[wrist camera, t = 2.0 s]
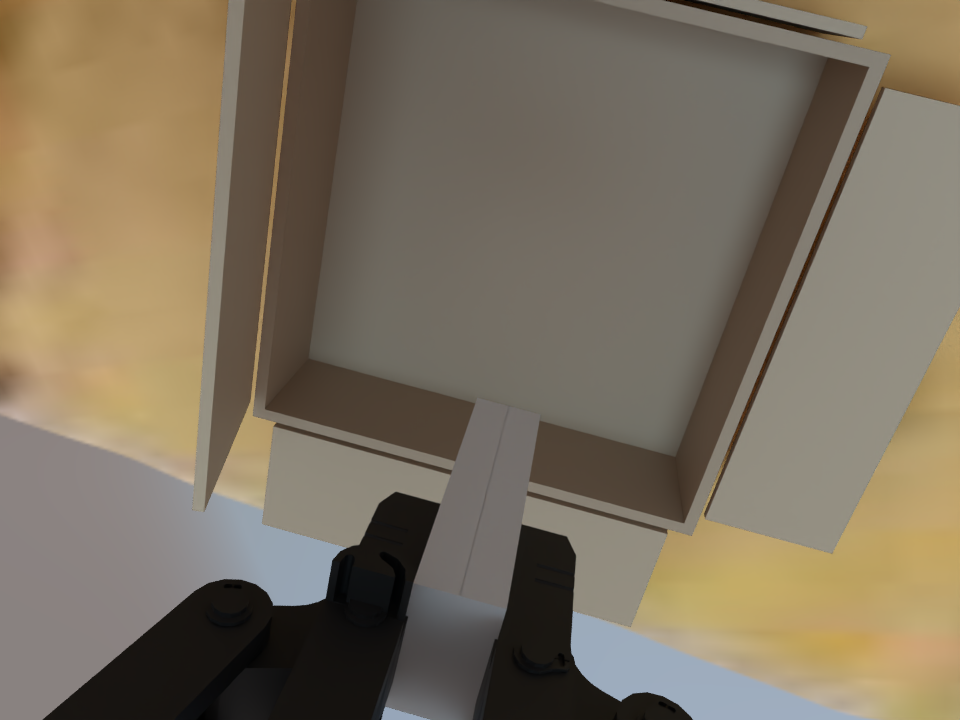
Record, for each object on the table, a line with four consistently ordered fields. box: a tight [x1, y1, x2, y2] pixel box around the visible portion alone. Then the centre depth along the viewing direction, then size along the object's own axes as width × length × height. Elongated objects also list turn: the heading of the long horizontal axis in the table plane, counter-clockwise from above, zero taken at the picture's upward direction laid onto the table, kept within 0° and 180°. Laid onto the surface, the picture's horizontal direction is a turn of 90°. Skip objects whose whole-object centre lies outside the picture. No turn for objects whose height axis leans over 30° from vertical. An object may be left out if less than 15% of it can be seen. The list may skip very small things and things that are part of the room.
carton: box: [253, 0, 960, 627], centre depth 34 cm, size 26×26×6 cm
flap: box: [192, 0, 291, 512], centre depth 27 cm, size 18×8×1 cm
